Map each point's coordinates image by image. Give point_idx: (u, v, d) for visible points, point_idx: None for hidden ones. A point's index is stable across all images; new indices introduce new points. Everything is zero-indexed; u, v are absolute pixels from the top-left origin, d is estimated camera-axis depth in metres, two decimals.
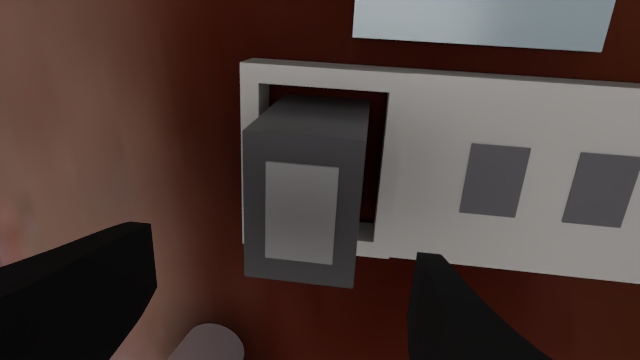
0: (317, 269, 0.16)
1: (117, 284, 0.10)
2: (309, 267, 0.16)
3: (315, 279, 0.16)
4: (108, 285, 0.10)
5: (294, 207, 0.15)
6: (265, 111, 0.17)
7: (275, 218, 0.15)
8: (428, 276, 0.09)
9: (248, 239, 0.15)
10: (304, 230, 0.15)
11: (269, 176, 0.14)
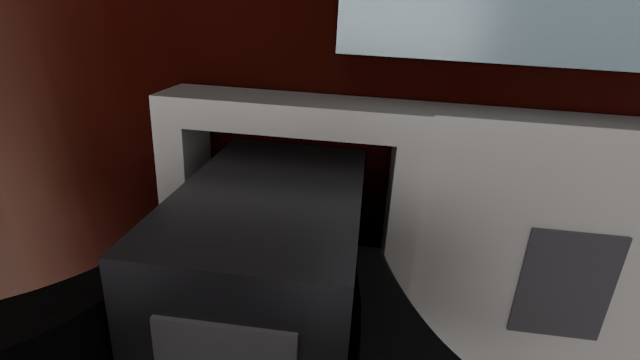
0: None
1: None
2: None
3: None
4: None
5: None
6: (180, 187, 0.10)
7: None
8: (356, 268, 0.09)
9: None
10: None
11: (160, 344, 0.07)
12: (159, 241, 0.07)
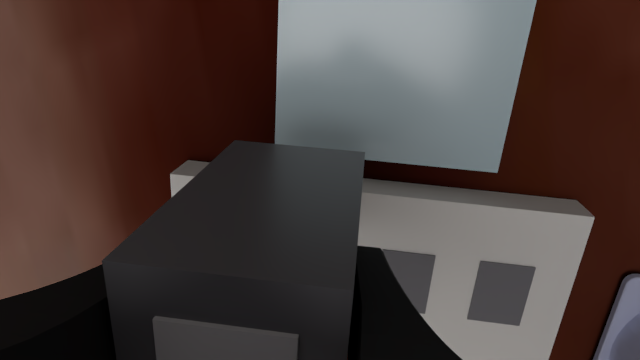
0: None
1: None
2: None
3: None
4: None
5: None
6: (182, 189, 0.10)
7: None
8: (357, 268, 0.09)
9: None
10: None
11: (162, 345, 0.07)
12: (162, 244, 0.08)
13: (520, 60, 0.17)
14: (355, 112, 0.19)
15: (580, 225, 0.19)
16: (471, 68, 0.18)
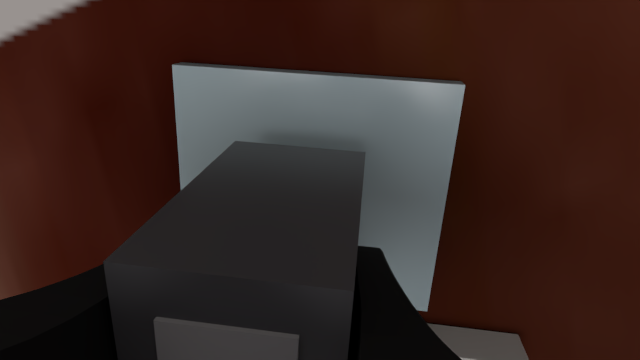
0: None
1: None
2: None
3: None
4: None
5: None
6: (182, 190, 0.10)
7: None
8: (356, 268, 0.09)
9: None
10: None
11: (164, 346, 0.07)
12: (163, 245, 0.08)
13: (442, 202, 0.16)
14: None
15: None
16: (390, 208, 0.16)
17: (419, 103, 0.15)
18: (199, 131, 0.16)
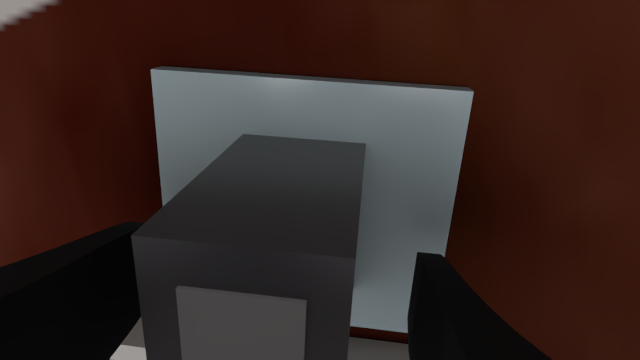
0: None
1: (117, 284, 0.10)
2: None
3: None
4: (108, 284, 0.10)
5: None
6: (197, 176, 0.11)
7: None
8: (428, 276, 0.09)
9: None
10: None
11: (184, 313, 0.08)
12: (183, 221, 0.08)
13: (448, 219, 0.14)
14: None
15: None
16: (390, 225, 0.15)
17: (422, 112, 0.13)
18: (181, 142, 0.15)
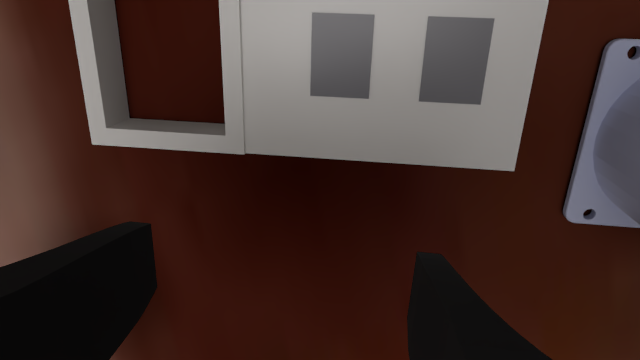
0: None
1: (117, 284, 0.10)
2: None
3: None
4: (108, 284, 0.10)
5: None
6: None
7: None
8: (428, 276, 0.09)
9: None
10: None
11: None
12: None
13: None
14: None
15: None
16: None
17: None
18: None
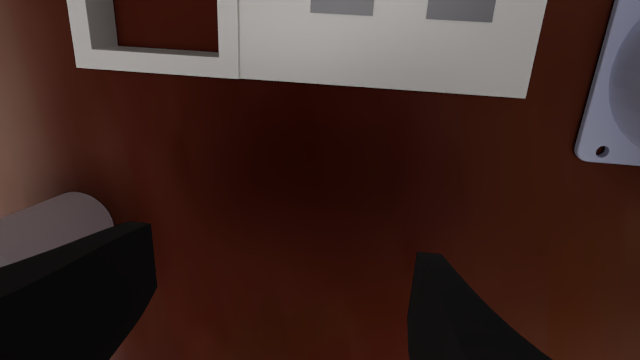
0: None
1: (117, 284, 0.10)
2: None
3: None
4: (108, 284, 0.10)
5: None
6: None
7: None
8: (428, 276, 0.09)
9: None
10: None
11: None
12: None
13: None
14: None
15: None
16: None
17: None
18: None
